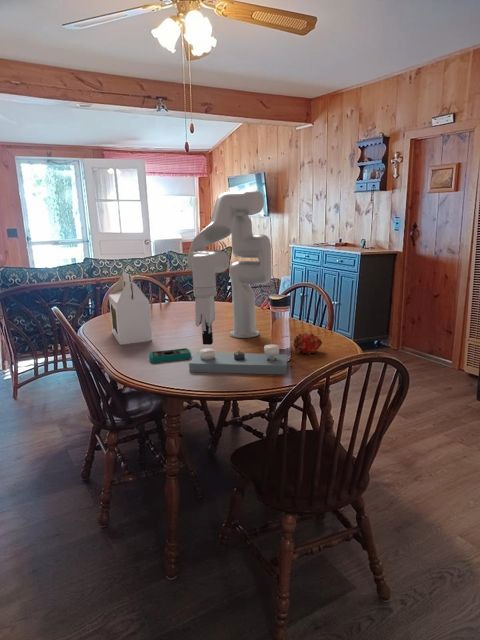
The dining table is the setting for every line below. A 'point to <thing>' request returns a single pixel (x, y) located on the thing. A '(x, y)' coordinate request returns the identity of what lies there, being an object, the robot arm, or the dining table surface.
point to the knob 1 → (207, 354)
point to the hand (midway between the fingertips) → (207, 343)
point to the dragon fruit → (307, 343)
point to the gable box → (129, 312)
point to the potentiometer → (239, 355)
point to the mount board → (240, 364)
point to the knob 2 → (271, 351)
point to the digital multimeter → (169, 355)
